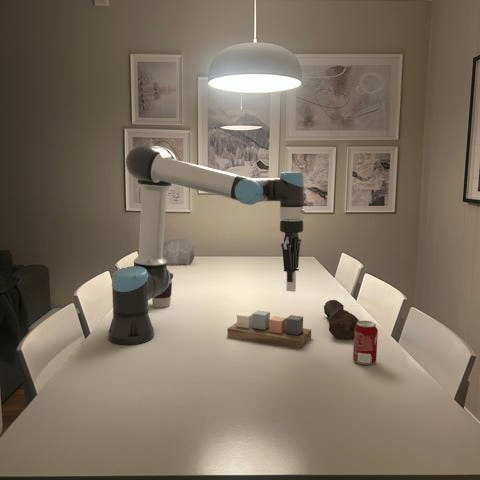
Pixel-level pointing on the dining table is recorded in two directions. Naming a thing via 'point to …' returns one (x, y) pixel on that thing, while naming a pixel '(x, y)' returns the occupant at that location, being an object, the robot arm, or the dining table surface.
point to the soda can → (365, 343)
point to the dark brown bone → (340, 320)
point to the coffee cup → (163, 296)
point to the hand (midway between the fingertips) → (291, 290)
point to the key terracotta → (277, 324)
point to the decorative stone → (178, 251)
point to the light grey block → (261, 319)
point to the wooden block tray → (270, 336)
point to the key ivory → (245, 320)
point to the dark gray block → (294, 324)
